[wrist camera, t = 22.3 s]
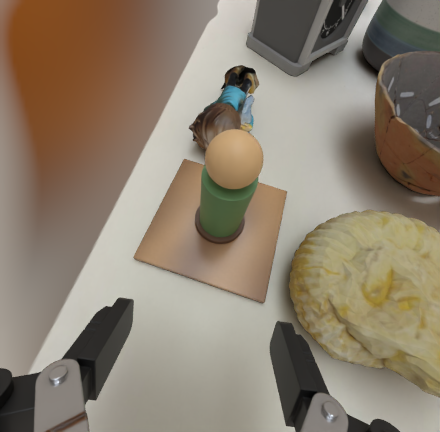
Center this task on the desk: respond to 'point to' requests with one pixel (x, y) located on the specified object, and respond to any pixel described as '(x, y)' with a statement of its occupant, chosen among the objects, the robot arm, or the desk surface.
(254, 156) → the peg doll
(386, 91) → the bowl
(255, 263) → the cork mat
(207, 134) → the figurine
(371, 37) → the vase
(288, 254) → the desk surface
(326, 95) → the desk surface
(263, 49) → the alarm clock
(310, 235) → the seashell
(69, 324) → the desk surface
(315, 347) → the desk surface
